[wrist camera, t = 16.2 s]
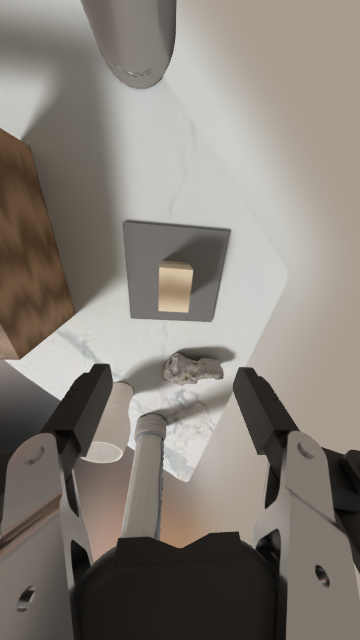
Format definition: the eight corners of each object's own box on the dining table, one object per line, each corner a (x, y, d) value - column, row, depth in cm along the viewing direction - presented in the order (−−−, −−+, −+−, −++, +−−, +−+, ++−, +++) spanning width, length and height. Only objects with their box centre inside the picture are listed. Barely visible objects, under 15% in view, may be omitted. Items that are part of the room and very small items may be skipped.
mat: (123, 222, 26) (122, 221, 26) (227, 231, 28) (229, 231, 27) (131, 317, 35) (130, 318, 34) (210, 320, 36) (211, 321, 36)
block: (162, 260, 29) (159, 267, 23) (188, 262, 29) (193, 270, 23) (161, 296, 32) (158, 310, 26) (185, 298, 33) (188, 312, 26)
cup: (121, 373, 43) (99, 434, 30) (145, 393, 47) (135, 454, 34) (93, 388, 45) (61, 451, 32) (119, 406, 50) (100, 468, 36)
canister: (171, 424, 56) (170, 593, 29) (147, 432, 58) (126, 598, 31) (156, 409, 51) (139, 593, 25) (131, 419, 53) (90, 599, 27)
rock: (221, 346, 40) (229, 366, 34) (219, 367, 44) (227, 388, 38) (160, 352, 40) (158, 372, 34) (164, 372, 44) (162, 393, 38)
